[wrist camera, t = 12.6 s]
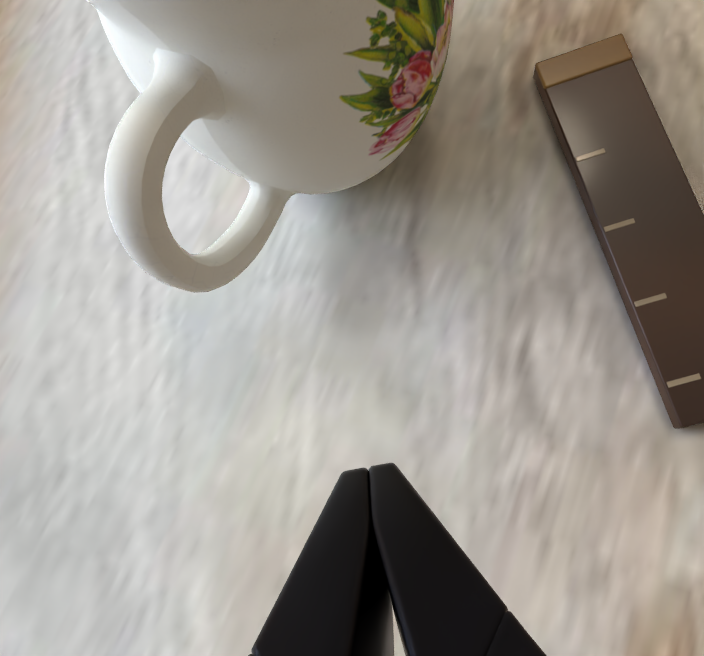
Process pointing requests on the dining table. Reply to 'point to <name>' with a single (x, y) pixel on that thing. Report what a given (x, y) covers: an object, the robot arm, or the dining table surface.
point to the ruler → (635, 209)
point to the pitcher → (262, 109)
